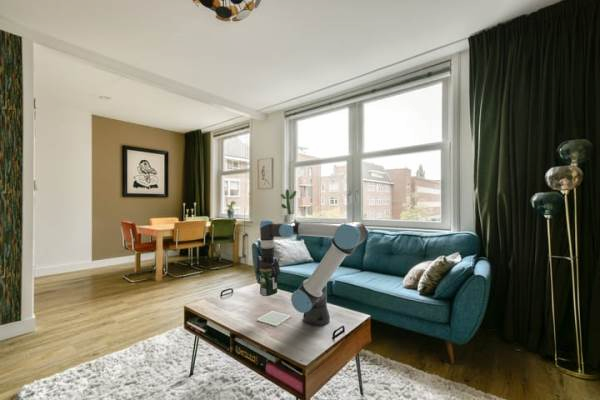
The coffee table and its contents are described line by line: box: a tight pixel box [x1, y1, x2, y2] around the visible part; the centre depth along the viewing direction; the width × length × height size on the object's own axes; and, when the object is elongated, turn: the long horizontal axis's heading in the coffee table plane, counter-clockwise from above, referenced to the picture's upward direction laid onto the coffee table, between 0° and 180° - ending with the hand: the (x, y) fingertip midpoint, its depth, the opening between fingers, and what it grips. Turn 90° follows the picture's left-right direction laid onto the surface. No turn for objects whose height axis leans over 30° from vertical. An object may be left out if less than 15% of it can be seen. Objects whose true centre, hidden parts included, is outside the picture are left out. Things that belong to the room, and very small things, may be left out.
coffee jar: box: [259, 260, 278, 297], centre depth 155 cm, size 10×8×19 cm
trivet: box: [256, 310, 292, 328], centre depth 156 cm, size 14×14×1 cm
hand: (268, 287), depth 155 cm, fingers closed on coffee jar, 8 cm apart
